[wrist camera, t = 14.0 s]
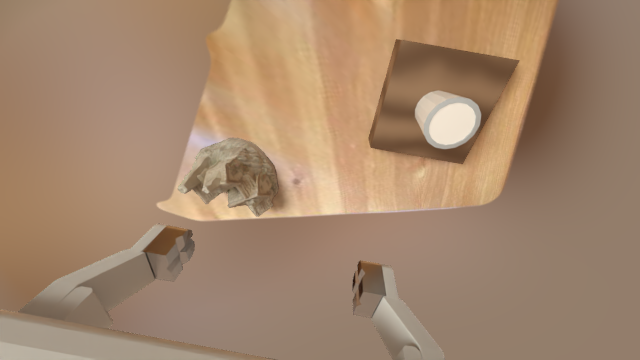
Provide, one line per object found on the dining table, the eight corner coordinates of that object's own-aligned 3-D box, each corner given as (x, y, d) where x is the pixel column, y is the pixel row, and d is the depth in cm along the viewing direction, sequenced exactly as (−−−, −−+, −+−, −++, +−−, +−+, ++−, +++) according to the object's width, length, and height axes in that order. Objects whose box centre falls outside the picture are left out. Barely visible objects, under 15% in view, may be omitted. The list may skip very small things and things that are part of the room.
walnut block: (395, 39, 35) (402, 39, 31) (498, 57, 35) (519, 60, 31) (368, 136, 44) (370, 147, 40) (451, 151, 44) (462, 164, 39)
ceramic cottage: (188, 146, 48) (138, 190, 35) (261, 130, 45) (235, 173, 33) (222, 202, 56) (192, 254, 44) (286, 192, 54) (272, 244, 41)
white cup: (467, 109, 35) (492, 125, 29) (426, 139, 38) (442, 159, 32) (442, 75, 33) (464, 84, 27) (401, 109, 36) (412, 124, 30)
